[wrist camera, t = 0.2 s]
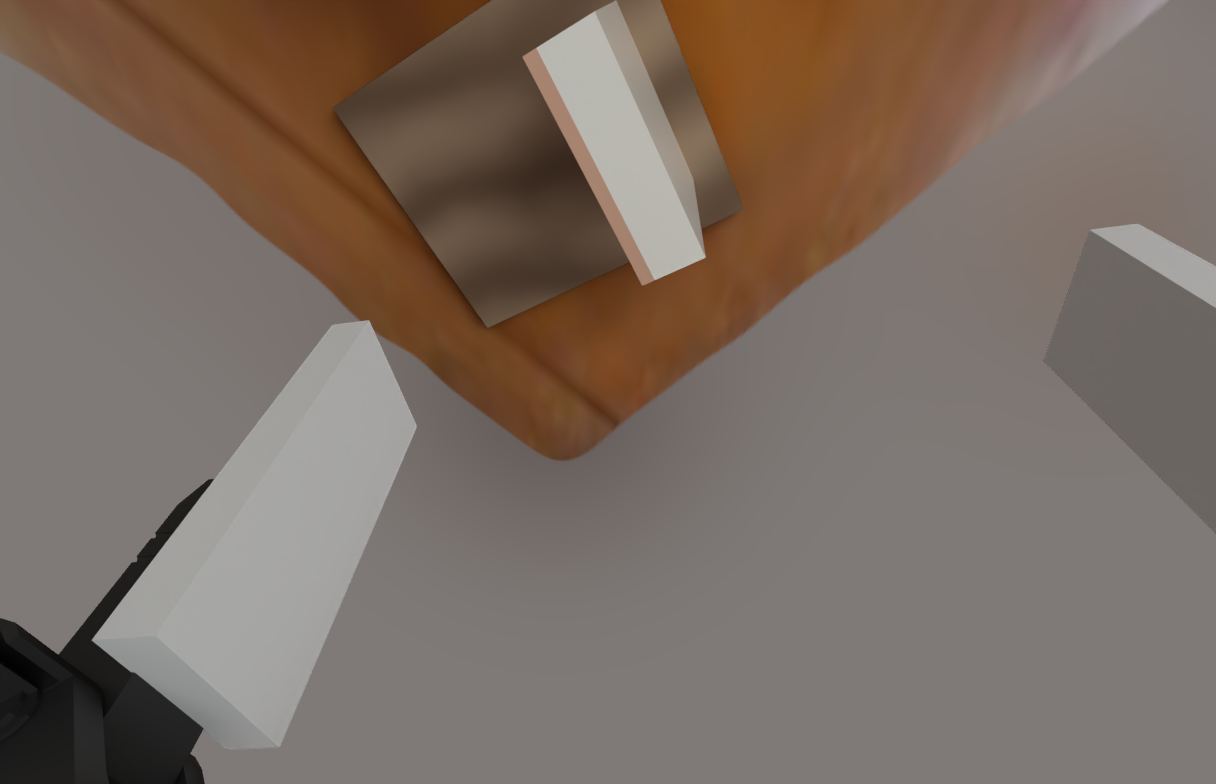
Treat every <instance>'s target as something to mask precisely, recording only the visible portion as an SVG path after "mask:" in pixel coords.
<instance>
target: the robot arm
mask: <svg viewBox="0 0 1216 784" xmlns="http://www.w3.org/2000/svg"><path fill="white" fill-rule="evenodd" d="M1044 362H1045V363H1046V364H1047V365H1048V366H1049V367H1050V368H1051V369H1052V370H1053V371H1054V372H1055V373H1056V374H1057V375H1058V376H1059V377H1060V378H1061V379H1062V380H1063V381H1064V382H1065V383H1066V384H1067V385H1068V386H1069V387H1070V388H1071V389H1072V390H1073V391H1074V392H1075V393H1076V394H1077V395H1078V396H1079V397H1080V398H1081V399H1082V400H1083V401H1084V402H1085V403H1086V404H1087V405H1088V406H1089V407H1090V408H1091V409H1092V410H1093V411H1094V412H1095V413H1096V414H1097V415H1098V416H1099V417H1100V418H1101V419H1102V420H1103V421H1104V422H1105V423H1106V424H1107V425H1108V426H1109V427H1110V428H1111V429H1112V430H1113V431H1114V432H1115V433H1116V434H1117V435H1118V436H1119V437H1120V438H1121V439H1122V440H1123V441H1124V442H1125V443H1126V444H1127V445H1128V446H1129V447H1130V448H1131V449H1132V450H1133V451H1134V452H1135V453H1136V454H1137V455H1138V456H1139V457H1140V458H1141V459H1142V460H1143V461H1144V462H1145V463H1146V464H1147V465H1148V466H1149V467H1150V468H1151V469H1152V470H1153V471H1154V472H1155V473H1156V474H1157V475H1158V476H1159V477H1160V478H1161V479H1162V480H1163V481H1164V482H1165V483H1166V484H1167V485H1168V486H1169V487H1170V488H1171V489H1172V490H1173V491H1174V492H1175V493H1176V494H1177V495H1178V496H1179V497H1180V498H1181V499H1182V500H1183V501H1184V502H1185V503H1186V504H1187V505H1188V506H1189V507H1190V508H1191V509H1192V510H1193V511H1194V512H1195V513H1196V514H1197V515H1198V516H1199V517H1200V518H1201V519H1202V520H1203V521H1204V522H1205V523H1206V524H1207V525H1208V526H1209V527H1210V528H1211V529H1212V530H1213V531H1214V533H1215V534H1216V267H1215V266H1214V265H1212V264H1210V263H1208V262H1206V261H1205V260H1203V259H1201V258H1199V257H1197V256H1196V255H1194V254H1192V253H1190V252H1188V251H1187V250H1185V249H1183V248H1181V247H1179V246H1177V245H1175V244H1174V243H1172V242H1170V241H1168V240H1167V239H1165V238H1163V237H1161V236H1159V235H1157V234H1156V233H1154V232H1152V231H1150V230H1148V229H1147V228H1145V227H1143V226H1141V225H1139V224H1132V225H1124V226H1116V227H1108V228H1100V229H1092V230H1089V233H1088V236H1087V239H1086V241H1085V244H1084V247H1083V250H1082V253H1081V256H1080V259H1079V261H1078V264H1077V267H1076V271H1075V273H1074V276H1073V279H1072V281H1071V284H1070V287H1069V290H1068V293H1067V296H1066V299H1065V301H1064V304H1063V307H1062V310H1061V313H1060V315H1059V318H1058V321H1057V324H1056V327H1055V330H1054V333H1053V335H1052V338H1051V341H1050V344H1049V347H1048V350H1047V352H1046V355H1045V358H1044ZM416 427H417V425H416V423H415V421H414V419H413V417H412V414H411V412H410V410H409V408H408V405H407V403H406V401H405V399H404V397H403V394H402V392H401V390H400V388H399V386H398V383H397V381H396V379H395V377H394V374H393V372H392V370H391V368H390V366H389V364H388V362H387V359H386V357H385V355H384V352H383V350H382V348H381V346H380V343H379V341H378V339H377V337H376V335H375V332H374V330H373V328H372V326H371V324H370V321H369V320H367V321H359V322H351V323H343V324H335V325H332V326H331V327H330V328H329V330H328V331H327V332H326V334H325V335H324V336H323V338H322V339H321V340H320V342H319V343H318V344H317V346H316V347H315V348H314V350H313V351H312V352H311V353H310V355H309V356H308V357H307V359H306V360H305V361H304V363H303V364H302V365H301V366H300V368H299V369H298V370H297V372H296V373H295V374H294V376H293V377H292V378H291V380H290V381H289V382H288V383H287V385H286V386H285V387H284V389H283V390H282V391H281V393H280V394H279V395H278V397H277V398H276V399H275V401H274V402H273V403H272V404H271V406H270V407H269V409H268V410H267V411H266V413H265V414H264V415H263V416H262V418H261V419H260V420H259V422H258V423H257V424H256V425H255V427H254V428H253V429H252V431H251V432H250V433H249V435H248V436H247V437H246V439H245V440H244V441H243V442H242V444H241V445H240V446H239V448H238V449H237V450H236V452H235V453H234V454H233V456H232V457H231V458H230V459H229V461H228V462H227V463H226V465H225V466H224V467H223V469H222V470H221V471H220V473H219V474H218V475H217V476H216V478H215V479H210V480H208V481H206V482H205V483H204V484H203V485H201V486H200V487H199V488H198V489H196V490H195V491H194V492H193V493H192V494H190V495H189V496H188V497H187V498H185V499H184V500H183V501H182V502H181V503H179V504H178V505H177V506H176V508H175V509H174V510H173V511H172V513H171V514H170V515H169V516H168V518H167V519H166V520H165V521H164V523H163V524H162V525H161V527H160V528H159V529H158V530H157V532H156V538H152V539H150V540H149V542H148V543H147V544H146V545H145V547H144V548H143V549H142V550H141V552H140V553H139V554H138V555H137V562H133V563H131V564H130V566H129V567H128V568H127V569H126V571H125V572H124V573H123V574H122V576H121V577H120V578H119V579H118V581H117V582H116V583H115V584H114V586H113V587H112V588H111V589H110V591H109V592H108V593H107V595H106V596H105V597H104V598H103V600H102V601H101V602H100V604H99V605H98V606H97V607H96V608H95V610H94V611H93V612H92V613H91V615H90V616H89V617H88V618H87V620H86V621H85V622H84V624H83V625H82V626H81V627H80V629H79V630H78V631H77V632H76V634H75V635H74V636H73V637H72V639H71V640H70V641H69V642H68V644H67V645H66V646H65V647H64V649H63V650H62V651H61V652H60V654H59V655H58V654H56V653H55V652H54V651H52V650H51V649H50V648H48V647H47V646H46V645H44V644H43V643H42V642H40V641H39V640H38V639H36V638H35V637H34V636H32V635H31V634H30V633H28V632H27V631H26V630H24V629H23V628H22V627H20V626H19V625H18V624H16V623H14V622H11V621H8V620H5V619H1V618H0V784H205V783H204V778H203V773H202V769H201V767H200V765H199V763H198V761H197V760H196V758H195V757H194V756H193V755H191V754H190V753H191V751H192V749H193V747H194V745H195V744H196V742H197V740H198V738H199V736H200V734H201V732H202V730H203V731H204V732H206V733H207V734H208V735H209V736H211V737H212V738H213V739H214V740H216V741H217V742H218V743H219V744H221V745H222V746H223V747H224V748H225V749H227V750H231V749H232V750H233V749H254V748H255V749H256V748H278V747H280V745H281V742H282V740H283V738H284V735H285V733H286V731H287V728H288V726H289V724H290V721H291V719H292V717H293V714H294V712H295V710H296V707H297V705H298V703H299V700H300V698H301V695H302V693H303V691H304V689H305V686H306V684H307V682H308V679H309V677H310V675H311V672H312V670H313V667H314V665H315V663H316V661H317V658H318V656H319V654H320V651H321V649H322V647H323V644H324V642H325V640H326V637H327V635H328V633H329V630H330V628H331V626H332V623H333V621H334V619H335V616H336V614H337V612H338V609H339V607H340V605H341V602H342V600H343V598H344V595H345V593H346V591H347V588H348V586H349V584H350V581H351V579H352V576H353V574H354V572H355V570H356V567H357V565H358V563H359V560H360V558H361V556H362V553H363V551H364V549H365V546H366V544H367V542H368V539H369V537H370V535H371V532H372V530H373V528H374V525H375V523H376V521H377V518H378V516H379V514H380V511H381V509H382V507H383V504H384V502H385V500H386V497H387V495H388V493H389V490H390V488H391V486H392V483H393V481H394V479H395V476H396V474H397V471H398V469H399V467H400V465H401V462H402V460H403V458H404V455H405V453H406V451H407V448H408V446H409V444H410V441H411V439H412V437H413V434H414V432H415V430H416Z"/></svg>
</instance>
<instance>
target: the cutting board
mask: <svg viewBox="0 0 1216 784" xmlns="http://www.w3.org/2000/svg"><path fill="white" fill-rule="evenodd" d="M614 1H617V3H618V5H619V8H620V10H621V12H622V15H623V17H624V19H625V22H626V24H627V26H628V29H629V31H630V33H631V36H632V38H633V40H634V43H635V45H636V47H637V50H638V52H639V54H640V57H641V59H642V61H643V64H644V66H645V68H646V70H647V73H648V75H649V77H650V80H651V82H652V84H653V87H654V89H655V91H656V94H657V96H658V98H659V101H660V103H661V105H662V108H663V110H664V112H665V115H666V117H667V119H668V122H669V124H670V126H671V129H672V131H673V133H674V136H675V138H676V140H677V143H678V145H679V147H680V149H681V152H682V154H683V156H684V159H685V161H686V163H687V166H688V168H689V170H690V173H691V175H692V177H693V180H694V187H695V193H696V199H697V206H698V212H699V219H700V225H701V229H703V228H705V227H707V226H709V225H711V224H713V223H716V222H718V221H720V220H722V219H724V218H726V217H729V216H731V215H733V214H735V213H737V212H739V211H742V210H743V207H742V204H741V201H740V199H739V196H738V194H737V191H736V189H735V186H734V184H733V181H732V179H731V176H730V174H729V171H728V169H727V166H726V164H725V161H724V158H723V156H722V153H721V151H720V148H719V146H718V143H717V141H716V138H715V136H714V133H713V131H712V128H711V126H710V123H709V121H708V118H707V116H706V113H705V111H704V108H703V106H702V103H701V100H700V98H699V95H698V93H697V90H696V88H695V85H694V83H693V80H692V78H691V75H690V73H689V70H688V68H687V65H686V63H685V60H684V58H683V55H682V53H681V50H680V48H679V45H678V42H677V40H676V37H675V35H674V32H673V30H672V27H671V25H670V22H669V20H668V17H667V15H666V12H665V10H664V7H663V5H662V2H661V0H491V1H490V2H488V3H487V4H485V5H484V6H482V7H481V8H479V9H478V10H477V11H475V12H474V13H472V14H471V15H469V16H468V17H466V18H465V19H463V20H462V21H460V22H459V23H457V24H456V25H454V26H453V27H451V28H450V29H448V30H447V31H446V32H444V33H443V34H441V35H440V36H438V37H437V38H435V39H434V40H432V41H431V42H429V43H428V44H426V45H425V46H423V47H422V48H420V49H419V50H417V51H416V52H415V53H413V54H412V55H410V56H409V57H407V58H406V59H404V60H403V61H401V62H400V63H398V64H397V65H395V66H394V67H392V68H391V69H389V70H388V71H386V72H385V73H383V74H382V75H381V76H379V77H378V78H376V79H375V80H373V81H372V82H370V83H369V84H367V85H366V86H364V87H363V88H361V89H360V90H358V91H357V92H355V93H354V94H352V95H351V96H350V97H348V98H347V99H345V100H344V101H342V102H341V103H339V104H338V105H336V106H335V107H333V110H334V111H335V113H336V114H337V115H338V117H339V118H340V120H341V121H342V122H343V124H344V125H345V127H346V128H347V130H348V131H349V132H350V134H351V135H352V137H353V138H354V139H355V141H356V142H357V144H358V145H359V147H360V148H361V149H362V151H363V152H364V154H365V155H366V157H367V158H368V159H369V161H370V162H371V164H372V165H373V166H374V168H375V169H376V171H377V172H378V174H379V175H380V176H381V178H382V179H383V181H384V182H385V183H386V185H387V186H388V188H389V189H390V191H391V192H392V193H393V195H394V196H395V198H396V199H397V200H398V202H399V203H400V205H401V206H402V208H403V209H404V210H405V212H406V213H407V215H408V216H409V218H410V219H411V220H412V222H413V223H414V225H415V226H416V227H417V229H418V230H419V232H420V233H421V235H422V236H423V237H424V239H425V240H426V242H427V243H428V244H429V246H430V247H431V249H432V250H433V252H434V253H435V254H436V256H437V257H438V259H439V260H440V262H441V263H442V264H443V266H444V267H445V269H446V270H447V271H448V273H449V274H450V276H451V277H452V279H453V280H454V281H455V283H456V284H457V286H458V287H459V288H460V290H461V291H462V293H463V294H464V296H465V297H466V298H467V300H468V301H469V303H470V304H471V306H472V307H473V308H474V310H475V311H476V313H477V314H478V315H479V317H480V318H481V320H482V321H483V323H484V324H485V325H486V327H487V328H488V327H491V326H493V325H495V324H497V323H499V322H501V321H504V320H506V319H508V318H510V317H512V316H514V315H517V314H519V313H521V312H523V311H525V310H527V309H530V308H532V307H534V306H536V305H538V304H540V303H543V302H545V301H547V300H549V299H551V298H553V297H555V296H558V295H560V294H562V293H564V292H566V291H568V290H571V289H573V288H575V287H577V286H579V285H581V284H584V283H586V282H588V281H590V280H592V279H594V278H597V277H599V276H601V275H603V274H605V273H607V272H610V271H612V270H614V269H616V268H618V267H620V266H623V265H625V264H627V263H629V262H630V261H629V259H628V257H627V255H626V254H625V252H624V250H623V248H622V246H621V244H620V242H619V240H618V238H617V236H616V234H615V233H614V231H613V229H612V227H611V225H610V223H609V221H608V219H607V217H606V215H605V214H604V212H603V210H602V208H601V206H600V204H599V202H598V200H597V198H596V196H595V194H594V193H593V191H592V189H591V187H590V185H589V183H588V181H587V179H586V177H585V175H584V173H583V172H582V170H581V168H580V166H579V164H578V162H577V160H576V158H575V156H574V154H573V153H572V151H571V149H570V147H569V145H568V143H567V141H566V139H565V137H564V135H563V133H562V132H561V130H560V128H559V126H558V124H557V122H556V120H555V118H554V116H553V114H552V112H551V111H550V109H549V107H548V105H547V103H546V101H545V99H544V97H543V95H542V93H541V92H540V90H539V88H538V86H537V84H536V82H535V80H534V78H533V76H532V74H531V72H530V71H529V69H528V67H527V65H526V63H525V61H524V59H523V56H524V55H526V54H527V53H529V52H531V51H532V50H534V49H535V48H537V47H539V46H540V45H542V44H543V43H545V42H546V41H548V40H550V39H551V38H553V37H554V36H556V35H558V34H559V33H561V32H562V31H564V30H566V29H567V28H569V27H570V26H572V25H574V24H575V23H577V22H578V21H580V20H582V19H583V18H585V17H586V16H588V15H590V14H591V13H593V12H594V11H596V10H598V9H600V8H602V7H604V6H606V5H608V4H610V3H612V2H614Z"/></svg>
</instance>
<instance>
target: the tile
mask: <svg viewBox="0 0 1216 784" xmlns="http://www.w3.org/2000/svg"><path fill="white" fill-rule="evenodd" d="M523 59H524V61H525V63H526V65H527V67H528V69H529V71H530V72H531V74H532V76H533V78H534V80H535V82H536V84H537V86H538V88H539V90H540V92H541V93H542V95H543V97H544V99H545V101H546V103H547V105H548V107H549V109H550V111H551V112H552V114H553V116H554V118H555V120H556V122H557V124H558V126H559V128H560V130H561V132H562V133H563V135H564V137H565V139H566V141H567V143H568V145H569V147H570V149H571V151H572V153H573V154H574V156H575V158H576V160H577V162H578V164H579V166H580V168H581V170H582V172H583V173H584V175H585V177H586V179H587V181H588V183H589V185H590V187H591V189H592V191H593V193H594V194H595V196H596V198H597V200H598V202H599V204H600V206H601V208H602V210H603V212H604V214H605V215H606V217H607V219H608V221H609V223H610V225H611V227H612V229H613V231H614V233H615V234H616V236H617V238H618V240H619V242H620V244H621V246H622V248H623V250H624V252H625V254H626V255H627V257H628V259H629V261H630V263H631V265H632V267H633V269H634V271H635V273H636V275H637V276H638V278H639V280H640V282H641V284H642V286H643V285H645V284H647V283H650V282H652V281H654V280H656V279H659V278H661V277H663V276H665V275H668V274H670V273H672V272H674V271H677V270H679V269H681V268H683V267H686V266H688V265H690V264H692V263H695V262H697V261H699V260H701V259H704V258H706V257H705V250H704V244H703V238H702V231H701V225H700V219H699V212H698V206H697V199H696V193H695V187H694V180H693V177H692V175H691V173H690V170H689V168H688V166H687V163H686V161H685V159H684V156H683V154H682V152H681V149H680V147H679V145H678V143H677V140H676V138H675V136H674V133H673V131H672V129H671V126H670V124H669V122H668V119H667V117H666V115H665V112H664V110H663V108H662V105H661V103H660V101H659V98H658V96H657V94H656V91H655V89H654V87H653V84H652V82H651V80H650V77H649V75H648V73H647V70H646V68H645V66H644V64H643V61H642V59H641V57H640V54H639V52H638V50H637V47H636V45H635V43H634V40H633V38H632V36H631V33H630V31H629V29H628V26H627V24H626V22H625V19H624V17H623V15H622V12H621V10H620V8H619V5H618V3H617V1H614V2H612V3H610V4H608V5H606V6H604V7H602V8H600V9H598V10H596V11H594V12H593V13H591V14H590V15H588V16H586V17H585V18H583V19H582V20H580V21H578V22H577V23H575V24H574V25H572V26H570V27H569V28H567V29H566V30H564V31H562V32H561V33H559V34H558V35H556V36H554V37H553V38H551V39H550V40H548V41H546V42H545V43H543V44H542V45H540V46H539V47H537V48H535V49H534V50H532V51H531V52H529V53H527V54H526V55H524V56H523Z"/></svg>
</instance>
